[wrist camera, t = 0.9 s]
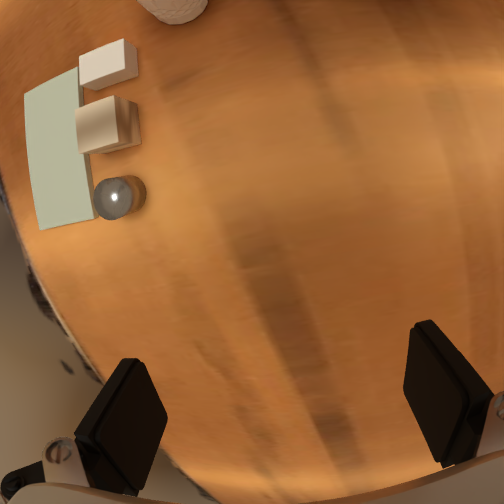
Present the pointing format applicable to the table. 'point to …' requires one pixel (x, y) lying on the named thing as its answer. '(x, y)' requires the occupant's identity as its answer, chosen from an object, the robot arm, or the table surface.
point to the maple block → (107, 126)
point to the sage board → (58, 153)
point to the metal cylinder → (119, 196)
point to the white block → (108, 65)
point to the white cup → (174, 9)
